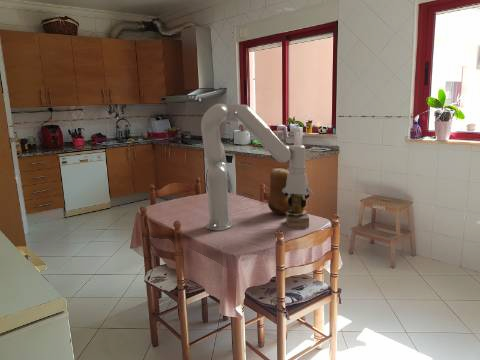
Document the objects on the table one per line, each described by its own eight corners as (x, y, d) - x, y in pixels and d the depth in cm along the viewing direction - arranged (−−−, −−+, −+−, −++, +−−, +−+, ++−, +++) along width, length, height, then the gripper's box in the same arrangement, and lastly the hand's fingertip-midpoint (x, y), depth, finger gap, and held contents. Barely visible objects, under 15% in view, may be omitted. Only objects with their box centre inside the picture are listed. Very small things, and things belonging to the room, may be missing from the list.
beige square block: (309, 228, 184) (309, 218, 183) (288, 228, 184) (288, 218, 183) (305, 221, 193) (306, 211, 192) (286, 221, 194) (286, 212, 193)
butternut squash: (296, 211, 209) (296, 167, 203) (288, 219, 197) (288, 171, 191) (273, 209, 215) (272, 165, 209) (263, 215, 203) (263, 170, 198)
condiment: (307, 211, 188) (307, 188, 185) (296, 215, 182) (297, 191, 179) (295, 209, 193) (295, 186, 190) (284, 212, 187) (285, 189, 184)
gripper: (277, 171, 183) (277, 206, 187) (312, 173, 176) (312, 210, 180) (282, 168, 190) (282, 202, 194) (316, 170, 182) (316, 206, 186)
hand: (297, 206), depth 187 cm, fingers closed on condiment, 6 cm apart
